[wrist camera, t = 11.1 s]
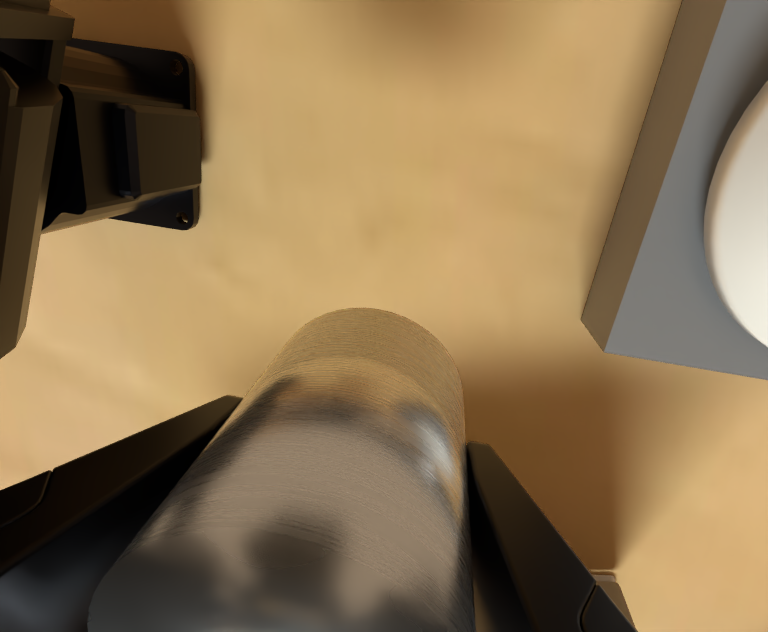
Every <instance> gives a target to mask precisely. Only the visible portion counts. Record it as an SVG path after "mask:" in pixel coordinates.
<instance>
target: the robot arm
mask: <svg viewBox="0 0 768 632" xmlns="http://www.w3.org/2000/svg"><path fill="white" fill-rule="evenodd" d="M50 2H51V0H0V359H1V358H2V357H4V356H5V355H6V354H7V353H9V352H10V351H11V350H13V349H14V348H15V347H16V345H17V343H18V341H19V339H20V337H21V335H22V333H23V331H24V329H25V327H26V321H27V315H28V309H29V302H30V296H31V290H32V284H33V278H34V272H35V266H36V260H37V254H38V247H39V241H40V235H41V234H44V233H48V232H52V231H57V230H61V229H65V228H69V227H73V226H77V225H81V224H85V223H89V222H94V221H98V220H102V219H106V218H110V219H116V220H122V221H128V222H134V223H141V224H147V225H153V226H159V227H165V228H172V229H178V230H189V229H191V228H193V227H195V226H196V225H197V223H198V220H199V211H198V185H199V184H200V183H201V141H200V118H199V116H198V115H197V113H196V96H195V69H194V64H193V63H192V61H191V59H190V58H189V57H188V56H186V55H184V54H181V53H178V52H173V51H165V50H158V49H150V48H143V47H135V46H127V45H120V44H112V43H105V42H97V41H90V40H82V39H74V38H72V33H73V27H74V21H75V18H74V17H72V16H70V15H68V14H66V13H64V12H63V11H61V10H59V9H57V8H55V7H53V6H51V5H50ZM179 61H180V62H181V64H182V67H183V70H182V73H181V74H180V75H178V73H177V72H176V69H175V67H176V64H177V63H178V62H179ZM182 212H183V213H185V214H186V215H187V217H188V222H185V221H184V220H183V219H182V216H181V215H182ZM243 399H244V398H241V397H236V396H231V395H226V396H223V397H221V398H218V399H216V400H214V401H211V402H209V403H207V404H204V405H202V406H200V407H197V408H195V409H192V410H190V411H188V412H185V413H183V414H181V415H178V416H176V417H174V418H171V419H169V420H167V421H164V422H162V423H159V424H157V425H155V426H152V427H150V428H148V429H145V430H143V431H141V432H138V433H136V434H134V435H131V436H129V437H126V438H124V439H122V440H119V441H117V442H115V443H112V444H110V445H108V446H105V447H103V448H100V449H98V450H96V451H93V452H91V453H89V454H86V455H84V456H82V457H79V458H77V459H74V460H72V461H70V462H67V463H65V464H63V465H60V466H58V467H55V468H54V469H53V471H50V470H48V471H46V472H43V473H41V474H39V475H36V476H34V477H32V478H29V479H27V480H25V481H22V482H20V483H17V484H15V485H12V486H10V487H7V488H5V489H2V490H0V632H88V626H87V622H88V613H89V607H90V604H91V601H92V598H93V595H94V592H95V590H96V589H97V587H98V585H99V584H100V582H101V580H102V579H103V577H104V576H105V575H106V573H107V572H108V571H109V569H110V568H111V567H112V566H113V564H114V563H115V562H116V561H117V559H118V558H119V557H120V555H121V554H122V553H123V552H124V550H125V549H126V548H127V547H128V545H129V544H130V543H131V541H132V540H133V539H134V538H135V536H136V535H137V534H138V532H139V531H140V530H141V529H142V527H143V526H144V525H145V524H146V522H147V521H148V520H149V518H150V517H151V516H152V515H153V513H154V512H155V511H156V510H157V508H158V507H159V506H160V504H161V503H162V502H163V501H164V499H165V498H166V497H167V495H168V494H169V493H170V492H171V490H172V489H173V488H174V487H175V485H176V484H177V483H178V481H179V480H180V479H181V478H182V476H183V475H184V474H185V473H186V471H187V470H188V469H189V467H190V466H191V465H192V464H193V462H194V461H195V460H196V458H197V457H198V456H199V455H200V453H201V452H202V451H203V450H204V448H205V447H206V446H207V444H208V443H209V442H210V441H211V439H212V438H213V437H214V436H215V434H216V433H217V432H218V430H219V429H220V428H221V427H222V425H223V424H224V423H225V421H226V420H227V419H228V418H229V416H230V415H231V414H232V413H233V411H234V410H235V409H236V407H237V406H238V405H239V404H240V402H241V401H242V400H243ZM466 456H467V475H468V493H469V512H470V531H471V550H472V568H473V587H474V606H475V625H476V632H638V631H637V630H636V629H635V627H634V626H633V625H632V624H631V623H630V621H629V620H628V619H627V618H626V616H625V615H624V614H623V613H622V612H621V610H620V609H619V608H618V607H617V606H616V604H615V603H614V602H613V601H612V599H611V598H610V597H609V595H608V594H607V593H606V592H605V590H604V589H603V588H602V587H601V586H600V585H596V584H597V581H596V579H595V578H594V577H593V575H592V574H591V573H590V572H589V570H588V569H587V568H586V567H585V565H584V564H583V563H582V561H581V560H580V559H579V558H578V556H577V555H576V554H575V553H574V551H573V550H572V549H571V548H570V546H569V545H568V544H567V542H566V541H565V540H564V539H563V537H562V536H561V535H560V534H559V532H558V531H557V530H556V529H555V527H554V526H553V525H552V523H551V522H550V521H549V520H548V518H547V517H546V516H545V515H544V513H543V512H542V511H541V509H540V508H539V507H538V506H537V504H536V503H535V502H534V501H533V499H532V498H531V497H530V496H529V494H528V493H527V492H526V490H525V489H524V488H523V487H522V485H521V484H520V483H519V482H518V480H517V479H516V478H515V477H514V475H513V474H512V473H511V471H510V470H509V469H508V468H507V466H506V465H505V464H504V463H503V461H502V460H501V459H500V458H499V456H498V455H497V454H496V452H495V451H494V450H493V449H492V447H491V446H490V445H488V444H484V443H479V442H474V441H470V442H468V443H467V445H466Z"/></svg>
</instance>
